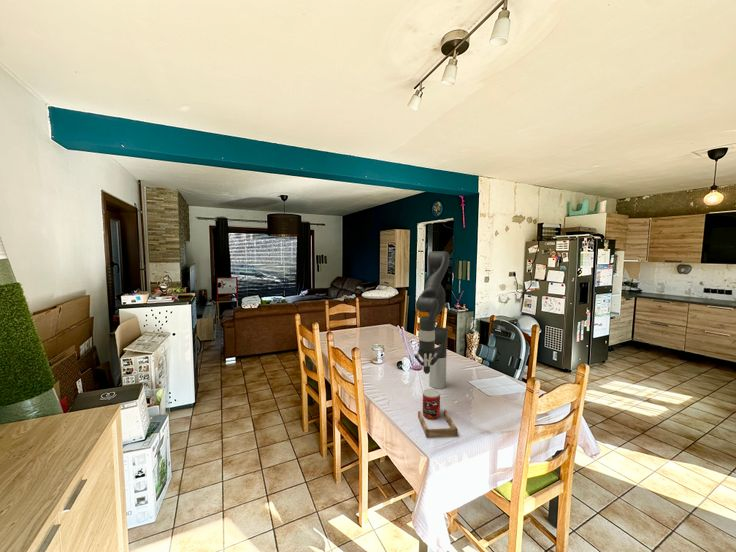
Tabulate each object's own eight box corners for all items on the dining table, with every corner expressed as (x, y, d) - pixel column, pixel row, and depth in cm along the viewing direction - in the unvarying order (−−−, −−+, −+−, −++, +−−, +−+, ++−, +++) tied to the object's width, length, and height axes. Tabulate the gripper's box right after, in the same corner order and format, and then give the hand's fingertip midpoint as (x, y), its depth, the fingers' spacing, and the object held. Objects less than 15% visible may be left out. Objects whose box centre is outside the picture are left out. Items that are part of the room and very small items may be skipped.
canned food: (419, 416, 141) (420, 393, 140) (426, 409, 148) (427, 387, 147) (435, 421, 137) (436, 398, 136) (442, 413, 143) (442, 391, 142)
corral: (418, 417, 140) (418, 411, 140) (445, 416, 141) (445, 410, 141) (426, 437, 125) (426, 430, 125) (457, 436, 126) (457, 429, 126)
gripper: (438, 336, 152) (437, 369, 154) (411, 336, 151) (411, 370, 153) (442, 340, 145) (442, 375, 146) (415, 341, 144) (414, 376, 145)
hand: (426, 373), depth 150 cm, fingers closed
